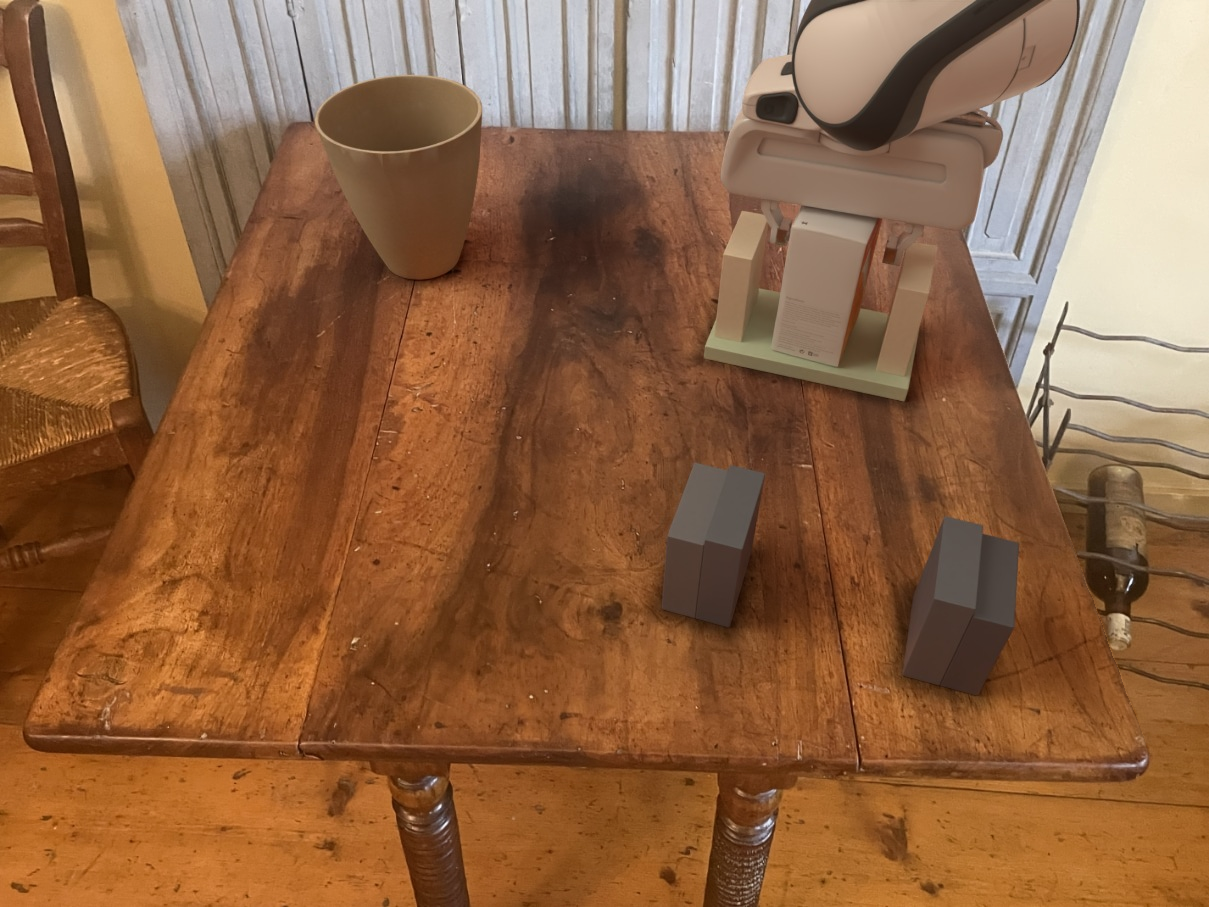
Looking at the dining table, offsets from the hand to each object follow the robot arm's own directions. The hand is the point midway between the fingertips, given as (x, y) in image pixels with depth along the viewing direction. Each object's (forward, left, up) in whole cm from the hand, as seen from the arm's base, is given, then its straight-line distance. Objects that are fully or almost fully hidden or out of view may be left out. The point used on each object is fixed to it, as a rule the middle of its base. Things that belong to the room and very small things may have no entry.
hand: (834, 251), depth 83 cm
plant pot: (+40, -1, -11) cm, 42 cm away
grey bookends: (-6, +29, -11) cm, 31 cm away
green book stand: (0, 0, -11) cm, 11 cm away
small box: (0, 0, -9) cm, 9 cm away
